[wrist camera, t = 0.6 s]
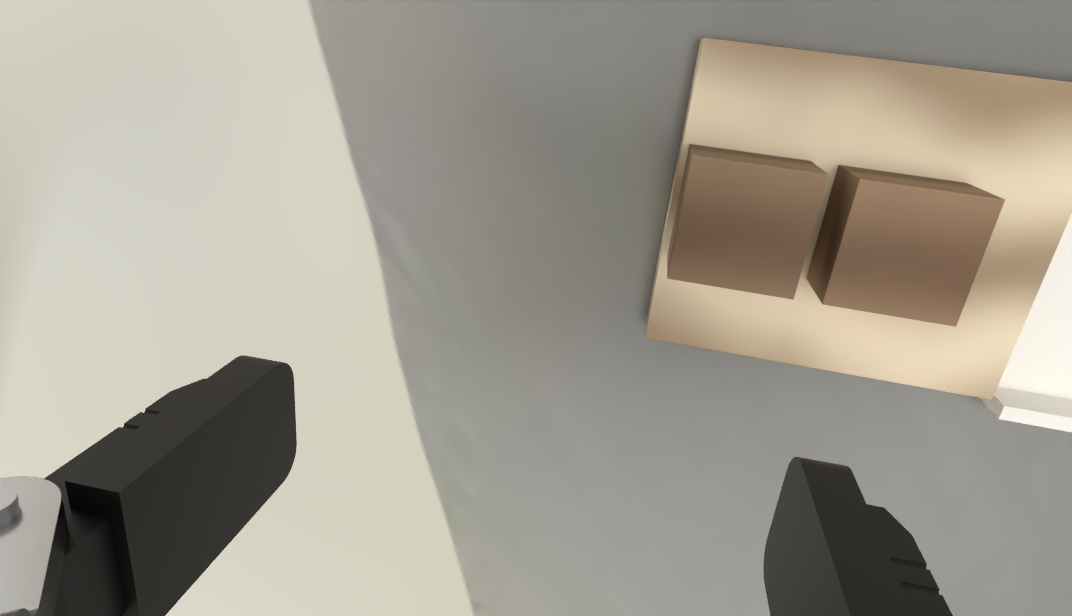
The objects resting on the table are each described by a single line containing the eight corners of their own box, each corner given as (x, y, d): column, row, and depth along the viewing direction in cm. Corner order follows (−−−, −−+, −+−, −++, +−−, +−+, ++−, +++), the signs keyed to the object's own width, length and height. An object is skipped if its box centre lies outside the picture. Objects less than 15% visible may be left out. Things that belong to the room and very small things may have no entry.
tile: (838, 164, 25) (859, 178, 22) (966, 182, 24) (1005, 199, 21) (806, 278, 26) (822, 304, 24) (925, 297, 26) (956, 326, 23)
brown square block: (689, 144, 25) (692, 154, 23) (810, 160, 25) (828, 174, 22) (667, 255, 27) (667, 278, 24) (780, 273, 27) (793, 299, 24)
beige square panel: (700, 38, 26) (703, 37, 24) (1089, 85, 24) (1124, 88, 22) (646, 320, 30) (644, 337, 29) (971, 377, 29) (991, 399, 27)
